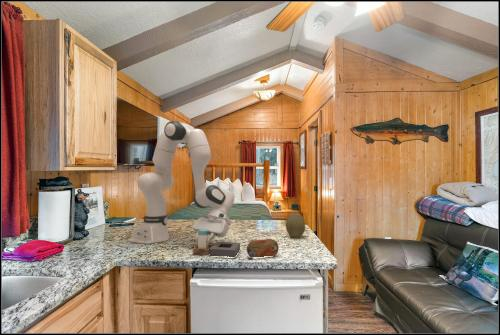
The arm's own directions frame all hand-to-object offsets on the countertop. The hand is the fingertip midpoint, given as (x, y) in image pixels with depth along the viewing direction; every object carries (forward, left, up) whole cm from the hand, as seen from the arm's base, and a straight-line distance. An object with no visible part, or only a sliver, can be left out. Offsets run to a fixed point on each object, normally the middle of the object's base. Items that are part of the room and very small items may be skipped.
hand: (202, 240), depth 123 cm
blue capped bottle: (0, +1, -6) cm, 6 cm away
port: (+11, +1, -6) cm, 13 cm away
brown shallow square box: (0, +1, -6) cm, 6 cm away
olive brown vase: (+45, +37, -6) cm, 59 cm away
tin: (+29, -1, -6) cm, 30 cm away
